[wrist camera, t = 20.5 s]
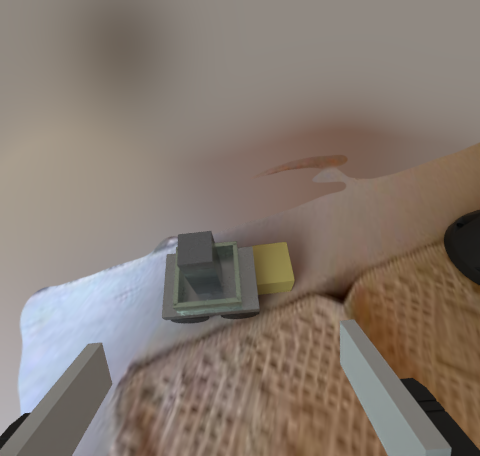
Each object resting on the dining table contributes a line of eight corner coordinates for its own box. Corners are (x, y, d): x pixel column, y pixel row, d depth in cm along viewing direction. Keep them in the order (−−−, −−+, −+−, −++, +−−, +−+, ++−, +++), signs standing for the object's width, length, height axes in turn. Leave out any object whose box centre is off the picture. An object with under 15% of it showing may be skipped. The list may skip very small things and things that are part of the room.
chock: (283, 255, 50) (286, 241, 45) (290, 291, 46) (294, 280, 41) (252, 259, 50) (251, 245, 45) (257, 295, 46) (257, 284, 41)
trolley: (253, 264, 49) (251, 237, 40) (259, 320, 44) (259, 302, 35) (178, 271, 49) (160, 246, 40) (176, 327, 44) (154, 312, 35)
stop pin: (221, 266, 41) (211, 231, 31) (223, 291, 39) (212, 261, 29) (196, 269, 41) (178, 234, 31) (196, 294, 39) (177, 265, 29)
